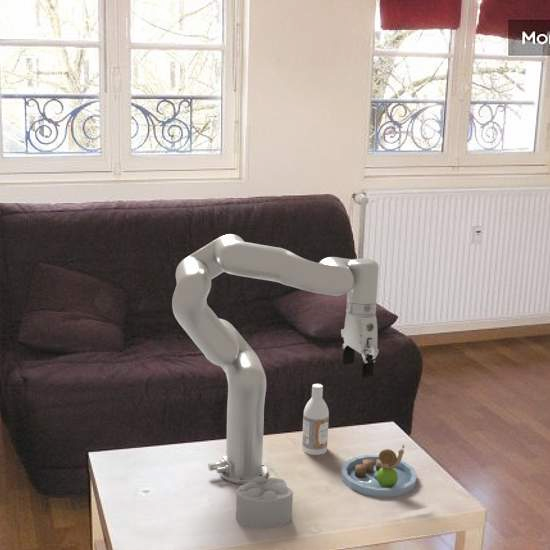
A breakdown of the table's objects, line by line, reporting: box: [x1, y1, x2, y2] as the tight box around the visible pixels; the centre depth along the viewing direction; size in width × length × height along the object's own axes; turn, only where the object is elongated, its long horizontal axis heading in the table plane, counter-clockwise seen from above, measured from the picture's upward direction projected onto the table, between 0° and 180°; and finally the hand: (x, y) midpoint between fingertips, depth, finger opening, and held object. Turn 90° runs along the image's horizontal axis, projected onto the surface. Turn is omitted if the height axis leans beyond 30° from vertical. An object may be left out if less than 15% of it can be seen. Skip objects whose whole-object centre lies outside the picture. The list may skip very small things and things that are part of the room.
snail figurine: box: [377, 444, 405, 488], centre depth 224 cm, size 5×6×12 cm
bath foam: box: [301, 383, 330, 456], centre depth 243 cm, size 7×7×20 cm
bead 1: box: [355, 464, 367, 478], centre depth 231 cm, size 3×3×2 cm
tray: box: [340, 454, 418, 498], centre depth 230 cm, size 19×19×3 cm
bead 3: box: [376, 459, 382, 471], centre depth 234 cm, size 3×3×2 cm
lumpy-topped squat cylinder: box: [235, 476, 294, 529], centre depth 211 cm, size 10×13×9 cm
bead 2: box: [363, 459, 374, 473], centre depth 234 cm, size 3×3×2 cm
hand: (357, 369), depth 230 cm, fingers open, 9 cm apart
